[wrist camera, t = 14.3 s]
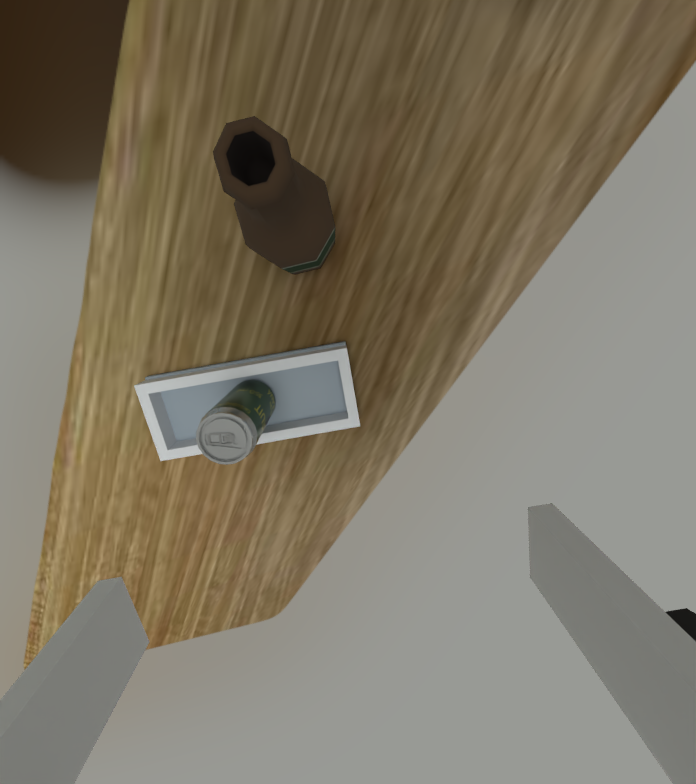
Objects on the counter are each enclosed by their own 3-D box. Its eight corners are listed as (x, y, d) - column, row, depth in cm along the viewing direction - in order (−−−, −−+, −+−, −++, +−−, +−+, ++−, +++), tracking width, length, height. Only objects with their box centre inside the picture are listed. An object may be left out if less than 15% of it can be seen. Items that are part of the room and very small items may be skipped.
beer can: (233, 421, 43) (196, 467, 31) (229, 378, 42) (189, 410, 30) (277, 420, 43) (257, 466, 32) (275, 378, 42) (252, 409, 30)
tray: (149, 375, 42) (133, 382, 39) (345, 341, 42) (346, 345, 39) (174, 450, 45) (161, 463, 42) (358, 418, 45) (360, 428, 41)
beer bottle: (340, 207, 38) (350, 72, 15) (329, 281, 40) (323, 264, 17) (268, 193, 37) (162, 30, 14) (261, 269, 39) (158, 234, 16)
